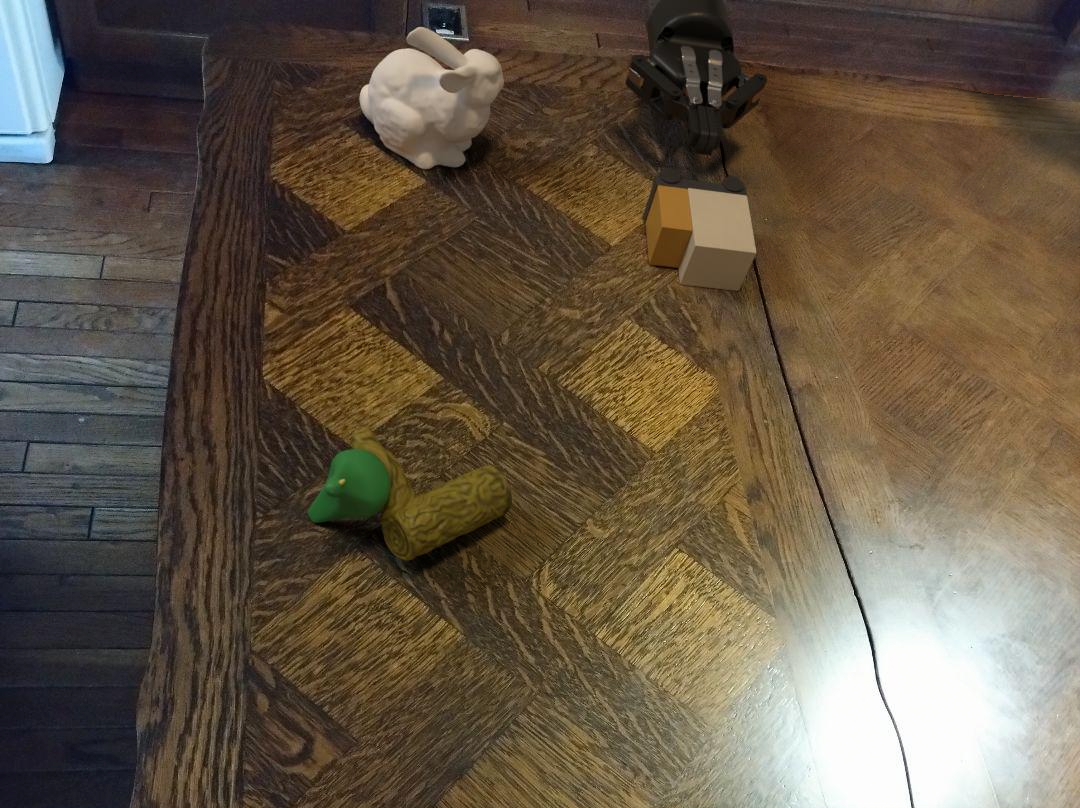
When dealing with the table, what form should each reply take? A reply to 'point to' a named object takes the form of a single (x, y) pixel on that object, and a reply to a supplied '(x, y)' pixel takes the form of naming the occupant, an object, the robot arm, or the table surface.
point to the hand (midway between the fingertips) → (706, 145)
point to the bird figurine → (407, 498)
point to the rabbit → (431, 99)
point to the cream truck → (700, 230)
